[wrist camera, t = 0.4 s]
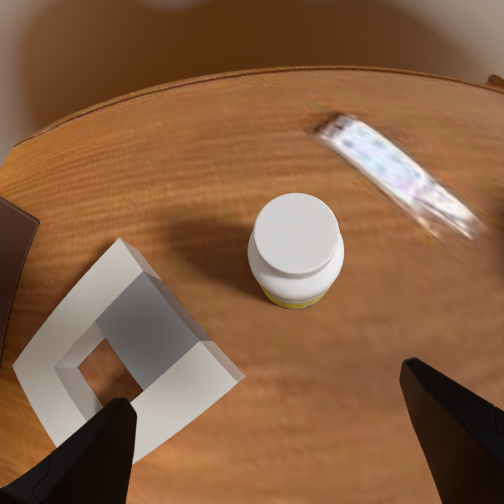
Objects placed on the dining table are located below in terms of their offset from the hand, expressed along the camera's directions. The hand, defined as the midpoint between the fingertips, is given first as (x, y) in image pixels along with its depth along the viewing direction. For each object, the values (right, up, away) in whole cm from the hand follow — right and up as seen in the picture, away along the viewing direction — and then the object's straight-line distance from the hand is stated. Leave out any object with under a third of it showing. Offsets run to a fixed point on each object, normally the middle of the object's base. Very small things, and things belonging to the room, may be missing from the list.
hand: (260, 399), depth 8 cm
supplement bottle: (+3, +2, +15) cm, 15 cm away
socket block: (-12, -6, +14) cm, 19 cm away
